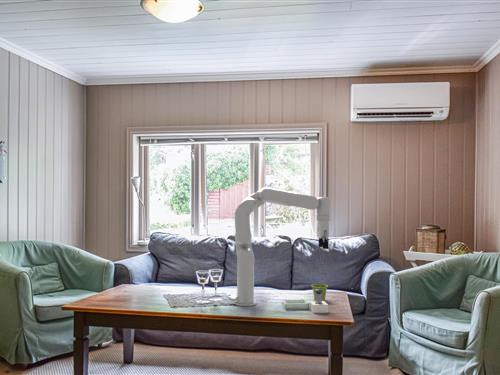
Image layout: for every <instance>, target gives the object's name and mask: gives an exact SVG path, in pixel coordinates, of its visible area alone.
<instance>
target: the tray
mask: <svg viewBox="0 0 500 375" xmlns="http://www.w3.org/2000/svg"><path fill="white" fill-rule="evenodd" d="M281 305H282V307H283V308H284V310H285V311H289V310H291V311H294V310H295V311H296V310H310V302H309V301H308V300H307V299H305V298H300V299H299V298H296V299H295V298H293V299H292V298H291V299H282V303H281Z"/></svg>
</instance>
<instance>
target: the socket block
mask: <svg viewBox="0 0 500 375" xmlns="http://www.w3.org/2000/svg"><path fill="white" fill-rule="evenodd" d="M309 310H310V311H311V312H312V313H314V314H321V313H322V314H323V313H324V314H325V313H329V304H328V303H327V302H326V300H325V301H322V304H316V300H313V301H312V300H310V301H309Z"/></svg>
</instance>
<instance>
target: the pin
mask: <svg viewBox="0 0 500 375" xmlns="http://www.w3.org/2000/svg"><path fill="white" fill-rule="evenodd" d="M315 292H316V300H315V301H316V304H322V292H323V290H322V289H315Z"/></svg>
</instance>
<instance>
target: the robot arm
mask: <svg viewBox="0 0 500 375" xmlns="http://www.w3.org/2000/svg"><path fill="white" fill-rule="evenodd" d="M330 202H331V199H330V197H328V196H319V197H316V196H312V195H308V194H301V193H297V192H293V191H288V190H285V189H284V190H282V189H278V188H273V187H268V186H267V187H266V186H265V187H262V188H261V189H259V190H257V191H255V192H254V193H252V194H250V195H249V196H247V197H246V198H244V199H243V200H242V201H241V202H239V204H238V205H237V207H236V209H235V212H234V228H235V233H234V241H235V242H234V243H235V244H234V245H235V251H236V261H237V263H236V264H237V266H236V277H237V278H236V280H237V282H236V284H237V285H236V289H237V290H236V295H234V296H228V300H229V301H234V305H236V306H240V307H251V306H255V305H257V300H255V253H254V251H253V244H252V238H253V237H252V233H251V232H252V231H251V224H250V223H251V222H250V216H251V214H252V213H254V212H255V211H256V210H257V209H258V208H260V207H262V205H264V204H266V203H269V204H275V205H280V206H285V207H296V208H300V209H301V208H302V209H306V210H313V211H314V210H316V221H317V224H316V226H317V227H316V237H317V238H318V247H319V248H322V249H323V250H329V238H330V227H329V224H330V223H329V221H331V214H330V213H331V208H330V206H331V203H330Z"/></svg>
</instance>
